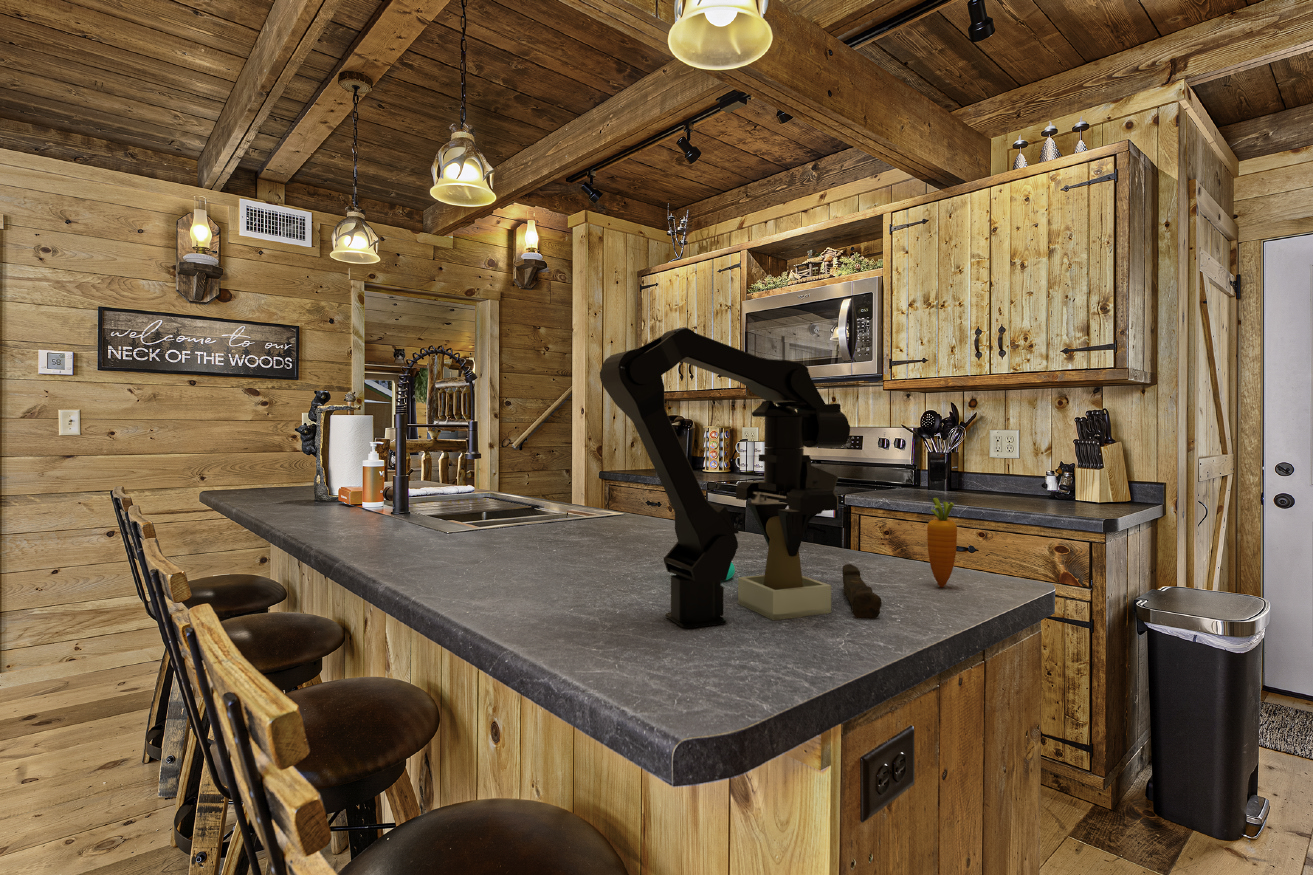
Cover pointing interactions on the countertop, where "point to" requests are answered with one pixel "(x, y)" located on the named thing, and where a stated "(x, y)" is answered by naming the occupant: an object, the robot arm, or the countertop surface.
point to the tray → (784, 598)
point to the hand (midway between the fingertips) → (783, 553)
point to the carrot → (942, 543)
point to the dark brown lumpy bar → (860, 594)
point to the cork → (780, 560)
